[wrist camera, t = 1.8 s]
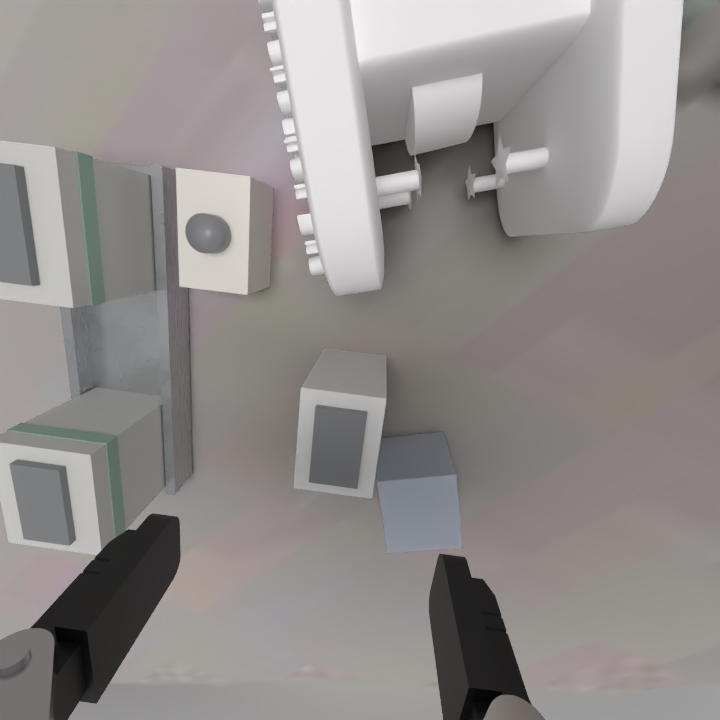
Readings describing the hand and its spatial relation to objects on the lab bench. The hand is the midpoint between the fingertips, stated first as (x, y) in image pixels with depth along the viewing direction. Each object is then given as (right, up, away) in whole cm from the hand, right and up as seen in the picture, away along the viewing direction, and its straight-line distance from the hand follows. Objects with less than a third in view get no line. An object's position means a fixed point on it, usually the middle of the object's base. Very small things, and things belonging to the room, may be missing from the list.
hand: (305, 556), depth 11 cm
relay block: (+5, -1, +15) cm, 16 cm away
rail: (-13, +8, +13) cm, 20 cm away
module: (+1, +4, +13) cm, 14 cm away
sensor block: (-5, +13, +11) cm, 18 cm away
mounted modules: (-13, +7, +12) cm, 19 cm away
